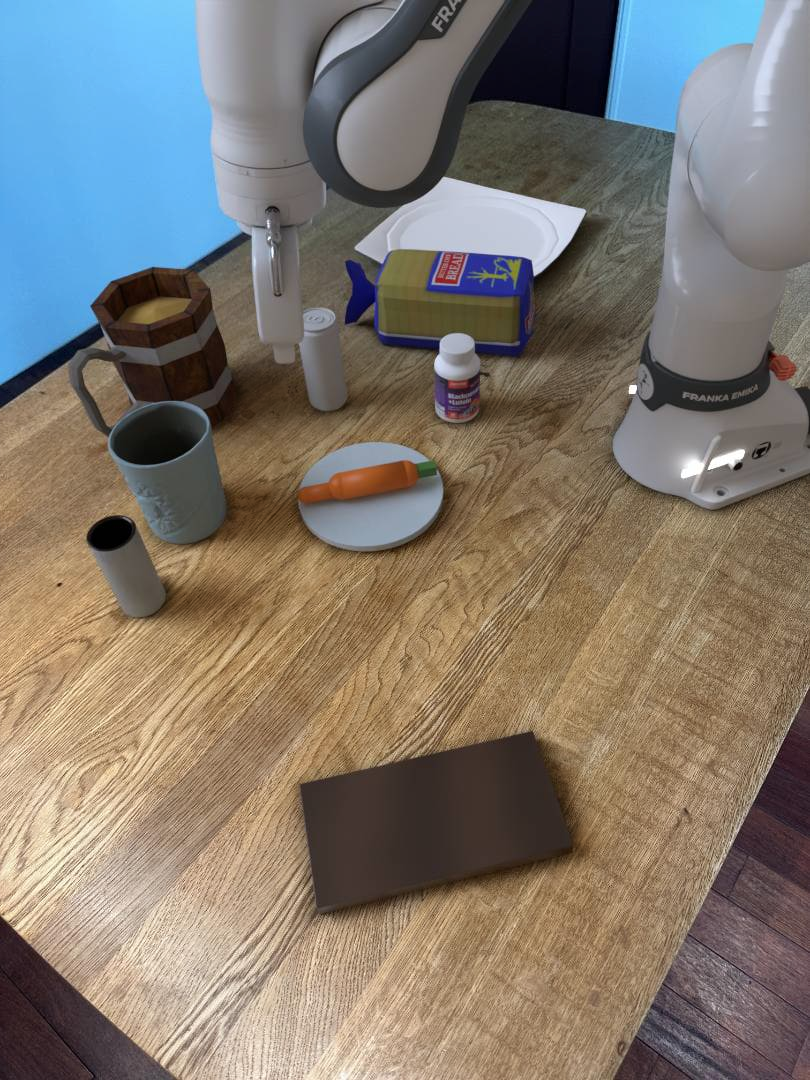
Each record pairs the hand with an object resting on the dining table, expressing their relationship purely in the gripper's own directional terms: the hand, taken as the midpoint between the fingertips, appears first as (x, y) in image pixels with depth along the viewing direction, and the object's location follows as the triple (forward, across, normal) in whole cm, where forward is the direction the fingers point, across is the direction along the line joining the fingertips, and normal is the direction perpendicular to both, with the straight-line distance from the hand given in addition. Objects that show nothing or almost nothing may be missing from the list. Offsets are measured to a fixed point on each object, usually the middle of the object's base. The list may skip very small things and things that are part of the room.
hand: (284, 328), depth 76 cm
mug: (+22, +16, +16) cm, 32 cm away
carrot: (+19, -3, -8) cm, 21 cm away
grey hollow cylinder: (+22, -13, +16) cm, 31 cm away
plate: (+18, +48, -28) cm, 59 cm away
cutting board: (+20, -40, -9) cm, 46 cm away
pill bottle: (+19, +10, -20) cm, 29 cm away
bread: (+19, +26, -20) cm, 38 cm away
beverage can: (+21, +15, -4) cm, 26 cm away
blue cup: (+22, -2, +12) cm, 25 cm away
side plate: (+20, -3, -8) cm, 22 cm away
